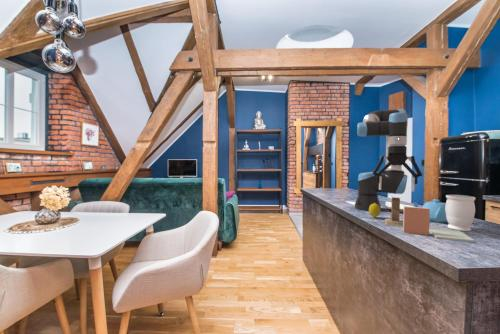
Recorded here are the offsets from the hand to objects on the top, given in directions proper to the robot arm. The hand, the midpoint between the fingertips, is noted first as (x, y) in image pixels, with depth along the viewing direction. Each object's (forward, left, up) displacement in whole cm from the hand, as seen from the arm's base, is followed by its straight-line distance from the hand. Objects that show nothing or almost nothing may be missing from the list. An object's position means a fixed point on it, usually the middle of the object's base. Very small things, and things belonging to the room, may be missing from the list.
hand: (396, 190), depth 119 cm
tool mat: (+10, +18, -17) cm, 26 cm away
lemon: (-12, -8, -17) cm, 22 cm away
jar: (-4, +26, -17) cm, 31 cm away
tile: (+12, +6, -17) cm, 21 cm away
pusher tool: (0, 0, -17) cm, 17 cm away
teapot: (-20, +21, -17) cm, 34 cm away
